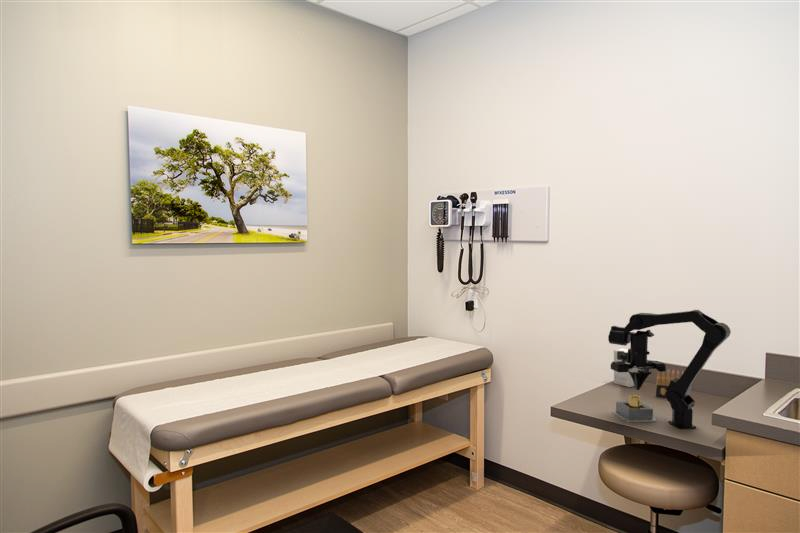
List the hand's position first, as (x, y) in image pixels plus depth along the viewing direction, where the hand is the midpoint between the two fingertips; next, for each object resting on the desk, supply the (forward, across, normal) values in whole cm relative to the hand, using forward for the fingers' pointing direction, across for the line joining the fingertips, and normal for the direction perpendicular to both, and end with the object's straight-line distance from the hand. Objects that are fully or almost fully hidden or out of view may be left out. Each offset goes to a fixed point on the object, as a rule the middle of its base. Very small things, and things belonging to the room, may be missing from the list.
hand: (637, 389), depth 194 cm
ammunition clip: (+10, -27, -20) cm, 35 cm away
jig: (+10, +2, +1) cm, 10 cm away
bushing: (+9, +2, +1) cm, 9 cm away
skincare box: (+10, -19, -41) cm, 46 cm away
